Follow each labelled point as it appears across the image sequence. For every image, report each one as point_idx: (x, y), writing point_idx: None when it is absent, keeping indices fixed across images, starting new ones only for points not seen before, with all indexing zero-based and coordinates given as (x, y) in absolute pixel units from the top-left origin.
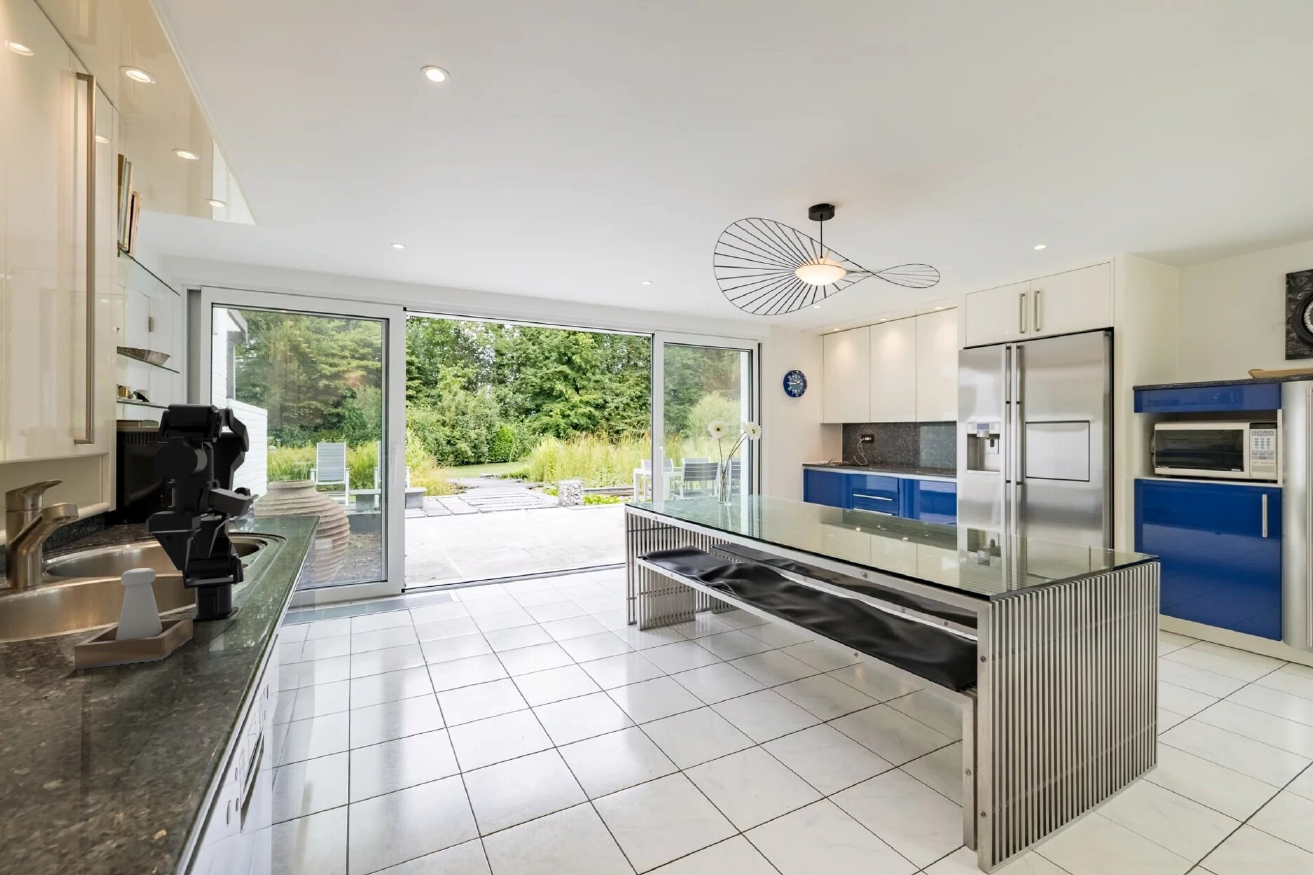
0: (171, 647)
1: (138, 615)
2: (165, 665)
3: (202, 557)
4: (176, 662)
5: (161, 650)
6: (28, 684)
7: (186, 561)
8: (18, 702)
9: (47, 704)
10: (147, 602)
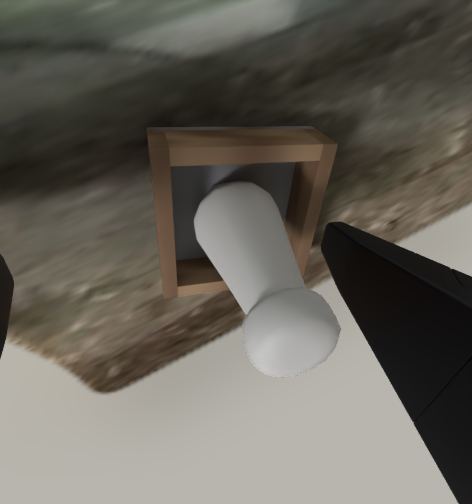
0: (274, 130)
1: (288, 239)
2: (348, 103)
3: (10, 285)
4: (341, 85)
5: (322, 134)
6: (322, 271)
7: (374, 238)
8: None
9: (424, 204)
10: (283, 249)
